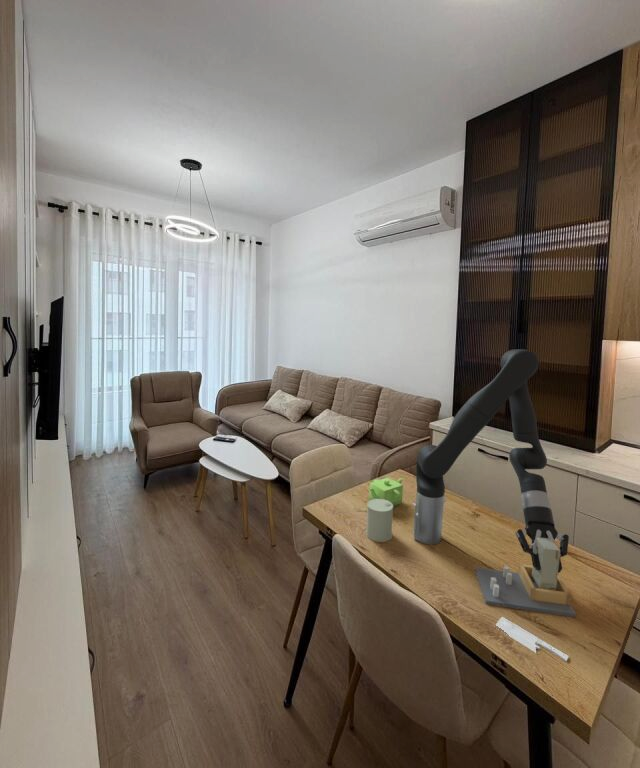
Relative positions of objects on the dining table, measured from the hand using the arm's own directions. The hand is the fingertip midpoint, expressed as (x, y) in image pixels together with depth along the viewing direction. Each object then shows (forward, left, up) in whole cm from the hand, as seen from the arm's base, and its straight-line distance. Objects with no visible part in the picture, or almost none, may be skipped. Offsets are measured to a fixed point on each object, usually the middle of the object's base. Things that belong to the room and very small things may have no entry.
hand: (548, 570), depth 102 cm
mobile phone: (-27, +49, -8) cm, 57 cm away
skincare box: (0, +2, -5) cm, 6 cm away
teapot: (-45, +43, -8) cm, 63 cm away
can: (-47, +20, -8) cm, 52 cm away
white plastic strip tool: (-10, -17, -8) cm, 22 cm away
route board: (-6, 0, -8) cm, 10 cm away
